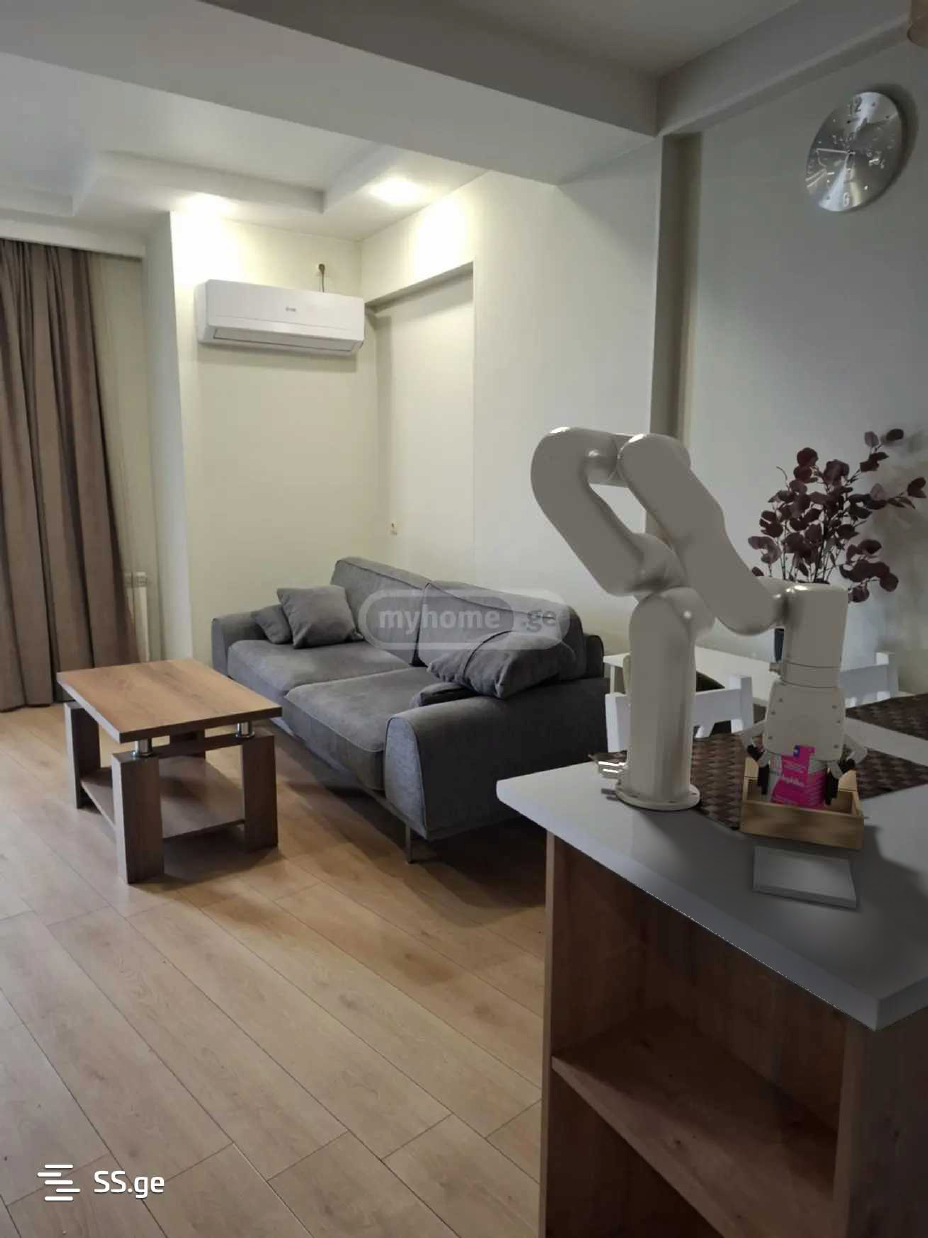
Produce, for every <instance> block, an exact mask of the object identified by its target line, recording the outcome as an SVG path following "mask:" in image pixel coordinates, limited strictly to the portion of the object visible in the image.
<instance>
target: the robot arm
mask: <svg viewBox="0 0 928 1238" xmlns="http://www.w3.org/2000/svg"><path fill="white" fill-rule="evenodd" d="M691 460H692V459H691V457H690V453H689V451H688V449H687V448H686V446H685V445H684V444H683V443H682V442H681V441H680V440H678V439H677V438H675V437H672V436H669V435H664V434H661V433H660V434H659V433H653V432H645V433H640V434H632V433H623V432H612V431H605V430H596V429H591V428H585V427H581V426H580V427H578V426H562V427H559V428H558V427H557V428H556V429H554V430H551V431H549V432H547V434H545V435H544V436H543V437H542V438H541V440H539V442H538V444H537V446H536V448H535V450H534V452H533V455H532V459H531V463H530V464H531V466H530V485H531V490H532V493H533V495H534V498H535V501H536V503H537V504H538V506H539V508H540V510H541V511H542V513H543V514H544V515H545V516H544V517H546V519H548V521H549V522H550V523H551V525H552V526H553V527H554V528H555V530H556V531H557V532H558V533H559V534H560V536H562V538H563V539H564V541H565V542H566V543H567V544H568V546H569V548H570V549H571V551H572V552H573V553H574V555H575V556H576V557H577V558H578V560H579V561H580V562H581V563H582V564H583V566H584V567H585V568H586V570H587V572H588V573H590V576H591V577H592V578H593V579H594V580H595V582H596V583H597V584H598V585H599V587H600V588H601V589H602V590H603V591H605V592H606V593H607V594H608V595H611V596H614V597H617V598H618V597H619V598H621V597H622V598H624V597H630V596H631V597H632V596H633V597H634V598H635V600H636V601H637V602H638V603H637V605H636V606H635V607H634V609H633V611H632V612H631V613H632V614H631V615H630V618H629V619H630V620H629V625H628V641H629V652H630V689H629V695H630V697H629V713H628V716H629V717H628V728H627V729H628V730H627V731H628V732H627V749H626V750H627V751H626V752H627V753H626V760H625V762H623V761H620V762H619V763H612V762H610V761H601V760H599V761H598V765H597V773H598V774H600V775H602V778H604V779H607V780H608V779H610V780H611V779H612V780H617V781H616V783H615V785H614V794H615V795H616V796H617V797H618V799H620V800H622V801H623V802H625V803H627V804H630V805H633V806H636V807H638V808H644V809H648V810H654V811H680V810H686V809H689V808H692V807H693V808H694V806H696V805H697V804H698V803H700V802H699V801H700V798H701V797H700V795H701V793H700V790H699V789H698V788H697V787H696V786H695V785H693V784H692V783H691V768H692V756H693V754H692V753H693V739H694V726H695V725H694V723H695V708H696V690H697V667H696V666H697V664H696V651H695V650H696V644H699V643H700V642H702V641H703V640H705V639H706V638H707V637H708V636H709V635H710V633H711V632H712V631H713V629H714V626H715V622H716V619H717V620H718V622H720V623H721V625H723V627H724V628H726V629H727V630H728V631H730V632H731V633H733V634H734V635H735V634H736V635H737V636H740V637H746V638H750V637H757V636H760V635H762V634H764V633H767V632H768V631H770V630H774V629H783V632H784V633H783V641H782V652H781V658H780V659H779V660H778V661H774V662H772V661H770V662H769V670H768V672H771V673H772V672H773V673H774V674H777V676H779V677H778V678H775V679H774V680H773V682H772V684H771V688H770V692H769V695H768V700H767V705H766V711H765V717H764V719H762V720H760V721H758V722H756V723H754V724H753V725H751V726H748V727H746V728H744V729H743V730H740V731H739V732H738V739H739V740H740V742H741V744H742V745H743V747H744V748H745V749H746V751H747V752H746V753H748V755H749V756H750V758H753V759H754V760H755V761H756V763H757V765H758V766H759V768H758V777H757V786H758V787H762V788H761V795H765V794H766V795H767V787H768V778H769V764H768V762H769V761H770V760H771V759H772V758H773V757H774V755H779V756H786V757H791V756H793V753H794V747H795V745H802V746H809V747H814V748H815V753H814V760H815V761H821V762H826V763H827V765H828V768H829V772H828V773H827V781H826V789H825V797H824V800H825V804H827V805H829V806H831V800H832V798H836V799H837V793H838V784H839V778H841V777H842V775H844V774H845V773H847V772H848V771H850V770H853V769H854V768H855V767H856V766H857V765H858V764H859V763H860V762H861V761H863V759H864V758H865V757H867V756H868V750H867V748H866V747H865V746H864V745H862V744H861V743H860V742H859V741H857V739H856V738H855V737H853V736H852V735H851V734H849V733H848V732H847V731H846V730H845V729H846V727H845V726H846V694H845V689H844V688H843V687H842V686H840V685H839V683H840V676H841V668H842V658H843V650H844V642H845V634H846V633H845V632H846V626H847V619H848V618H847V616H848V610H849V593H848V592H847V591H846V590H845V588H843V587H840V586H837V585H832V584H828V583H827V584H826V583H817V582H804V583H802V582H801V583H799V582H795V581H790V580H785V579H782V578H781V579H780V578H777V577H773V576H764V575H759V576H756V575H755V574H754V573H753V572H752V570H751V569H750V568H749V567H748V565H747V564H746V563H745V561H744V560H743V559H742V558H741V556H740V555H739V554H738V552H737V550H736V549H735V547H734V546H733V544H732V541H731V540H730V538H729V535H728V532H727V530H726V524H725V515H724V512H723V509H722V507H721V505H720V503H719V502H718V501H717V499H715V498H714V496H713V495H712V493H710V491H708V489H707V487H706V486H705V485H704V484H703V482H701V480H700V478H699V477H698V476H697V475H696V474H695V473H694V472H693V470H692V469H691V467H692V465H691V464H692V463H691V462H692V461H691ZM591 485H598V486H599V485H602V486H610V487H617V488H618V487H619V488H624V489H626V488H627V489H628V490H629V491H630V492H631V494H632V495H633V496H634V497H635V499H636V500H637V501H638V503H639V504H640V505H641V507H642V508H643V509H644V510H645V511H646V513H647V514H648V515H649V517H650V518H651V519H652V520H653V522H654V523H655V525H656V526H657V528H659V530H660V531H661V533H663V535H664V536H665V537H666V538H667V540H668V541H669V543H670V544H671V546H672V549H673V550H672V549H671V548H670V547H669V546H668V545H667V544H666V543H665V542H664V541H662V539H660V538H658V537H657V536H655V535H654V534H650V533H646V532H633V530H631V529H629V527H627V525H626V524H625V523H624V522H623V521H622V520H621V519H620V518H619V517H618V514H616V513H615V512H614V510H613V509H612V507H611V506H610V505H609V504H608V502H607V501H605V500H604V499H603V497H601V496H600V495H599V494H598V493H597V491H595V490H594V489H593V488H592V487H591ZM760 734H762V746H763V749H762V750H761V749H760V748H759V747H758V745H756V743H754V740H753V739H752V738H754V737H755V736H758V735H760ZM844 745H845V746H847V748H849V749H850V750H851V751H852V752H851V753H850V754H849V755H848V756H846V757H845V758H843V759H842V760H840V759H841V758H842V756H843V755H842V754H843V750H844V749H843V748H844Z"/></svg>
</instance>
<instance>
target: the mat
mask: <svg viewBox="0 0 928 1238" xmlns="http://www.w3.org/2000/svg"><path fill="white" fill-rule="evenodd" d="M753 861H754V863H753V878H752V879H753V882H752V883H753V884H752V892H757V893H764V894H769V895H774V896H781V897H787V898H791V899H792V898H793V899H798V900H803V901H810V902H815V903H820V904H821V903H822V904H827V905H833V906H839V907H845V908H850V909H855V910H856V909H857V895H856V891H855V885H854V882H853V876H852V872H851V867H850V863H849V859H843V858H836V857H832V856H831V857H830V856H824V855H817V854H811V853H804V852H799V851H798V852H797V851H793V850H792V851H791V850H784V849H779V848H773V847H767V846H766V847H765V846H762V845H761V846H759V845H755V846H754V860H753Z"/></svg>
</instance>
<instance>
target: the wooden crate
mask: <svg viewBox="0 0 928 1238" xmlns="http://www.w3.org/2000/svg"><path fill="white" fill-rule="evenodd" d="M768 764H769V767H770V761H769V762H768ZM744 766H745V767H744V776H743V777H744V778H743V785H742V786H743V787H742V797H741V808H740V809H741V810H740V822H739V832H740V833H746V834H753V835H760V836H766V837H773V838H778V839H779V838H780V839H786V840H791V841H792V840H793V841H799V842H807V843H812V844H819V845H826V846H833V847H838V848H845V849H852V850H858V851H859V850H860V851H861V850H862V845H863V844H862V843H863V833H864V826H865V825H864V824H865V823H864V821H865V820H870V817H869V816H865V815H864V813H863V808H862V805H861V801H860V797H859V794H858V786H857V785H858V783H857V774H856V773H857V772H856V770H853V769H851V770H850V771H848V772H847V773H845V774H844V775H842V777H841V778H839V784H838V793H837V799H836V798H832V800H831V806H829V805H827V804H825V800H824V806H823V810H818V809H811V808H803V807H796V806H789V805H782V804H775V803H767V802H765V801H766V794H765V795H761V788H762V787H758V786H757V777H758V768H759V766H758V765H757V763H756V761H755V760H754V759H753V758H752V757H745V765H744ZM828 772H829V767H828Z"/></svg>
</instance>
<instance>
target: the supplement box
mask: <svg viewBox="0 0 928 1238" xmlns="http://www.w3.org/2000/svg"><path fill="white" fill-rule="evenodd" d="M814 753H815V748H814V747H809V746H802V745H795V747H794V753H793V756H791V757H786V756H779V755H774V757H773V758H772V759H771V760H770V767H769V778H768V787H767V795H766V801H765V802H767V803H775V804H782V805H789V806H796V807H803V808H811V809H818V810H823V806H824V797H825V789H826V781H827V773H828V768H829V767H828V765H827V763H826V762H821V761H815V760H814Z"/></svg>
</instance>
